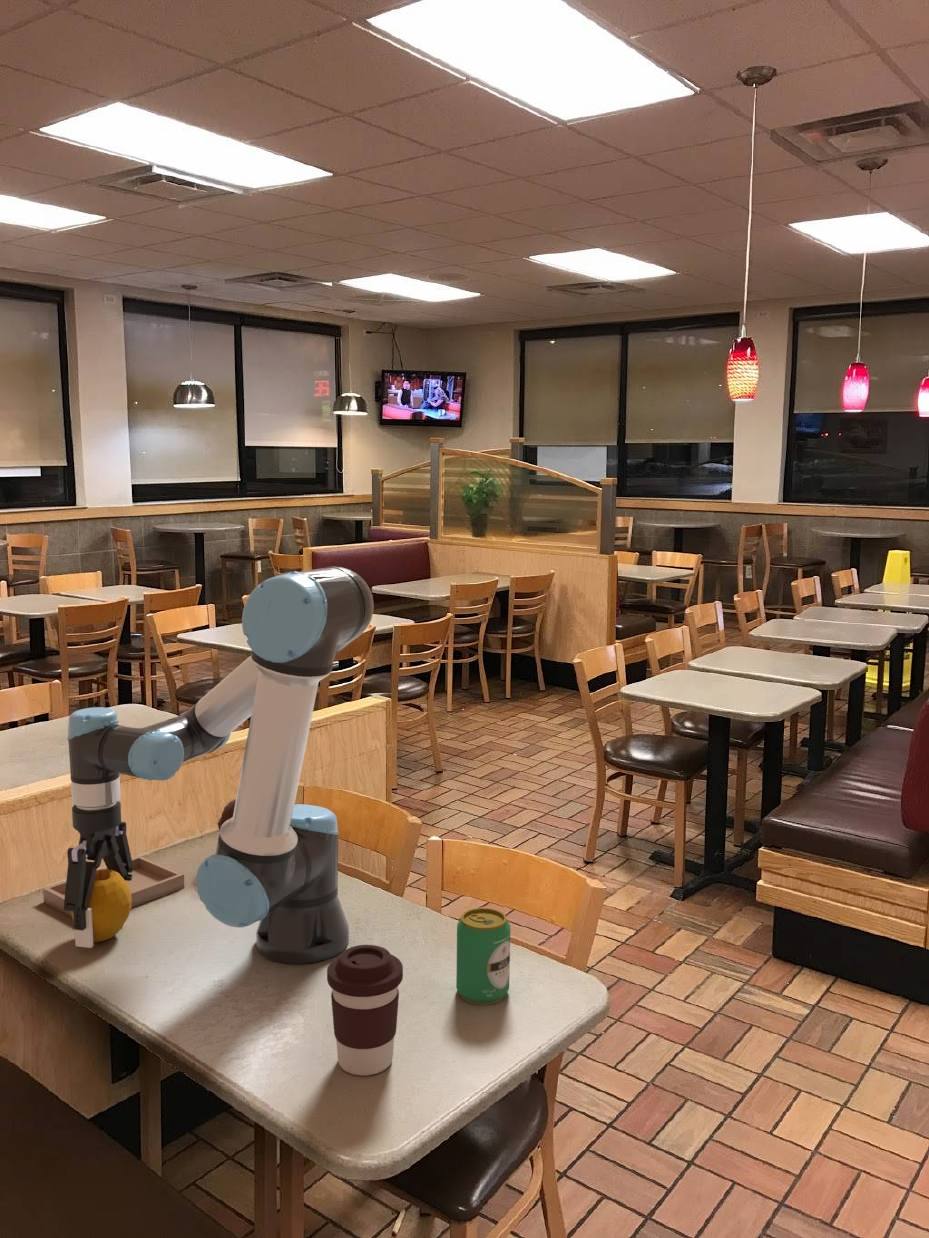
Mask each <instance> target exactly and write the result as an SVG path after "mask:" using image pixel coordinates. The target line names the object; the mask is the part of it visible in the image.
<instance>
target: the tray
mask: <svg viewBox="0 0 929 1238" xmlns="http://www.w3.org/2000/svg"><path fill="white" fill-rule="evenodd" d="M131 859H132V863H133V871H132V873H128V874H132V879H131V881H126V883H127V884H128V886H129V888H130V893H131V899H132V903H131V909H132V908H134V907H137V906H141V905H143V904H146V903H148V902H150V901H153V900H155V899H156V900H157V899H158V898H161V897H163V896H166V895H169V894H171V893H174V892H177V891H180V890H182V889H185V874H184V873H181V872H179V871H177V870H175V869H172V868H170V867H167V866H165V865H163V864H161V863H158V862H155V861H153V860H150V859H149V858H146V857H144V856H142V855H138V856H135V857H131ZM123 864H124V865H126V864H125V863H123ZM103 869H107V867H103V868H99V869H97V870H103ZM97 870H96V871H97ZM65 889H66V880H64V881H61V882H58V883H55V884H52V885H48V886H47V887H43V888H42V895H43V898H42V899H43V903H45V904H46V905H48V906H50V907H52V908H53V909H56V910H57V911H60V912H62V913H64V914H66V915H67V916H69V917H71V918H72V913H71V911H65V910H64V899H65Z"/></svg>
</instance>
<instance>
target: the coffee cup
mask: <svg viewBox="0 0 929 1238" xmlns="http://www.w3.org/2000/svg"><path fill="white" fill-rule="evenodd" d="M339 954H340V955H339V956H337V957H335V958H334V959H333V960H331V961H330V962H329V964H328V966H327V970H326V979H327V980H326V981H327V984H328V986H329V987H330V988H331V989H332V990H331V996H330V997H331V1008H332V1009H331V1010H332V1020H333V1021H332V1023H333V1035H334V1037H335V1041H336V1051H337V1052H336V1053H337V1062H338V1066H339V1067H340V1068H341V1069H342V1070H344V1071H345V1072H346V1073H348V1074H351V1075H355V1076H361V1077H363V1076H364V1077H365V1076H372V1075H376V1074H380V1073H382V1072H383V1071H384V1070H386V1069H388V1068H389V1067H390V1066H391V1063H392V1061H393V1057H394V1045H395V1044H394V1043H395V1036H396V1033H397V1028H398V1027H397V1025H398V1024H397V1023H398V1011H399V1001H400V1000H399V999H400V998H399V996H400V991H399V986H400V984H401V983H402V982H403V981H402V980H403V977H404V971H403V970H404V965H403V963H402V962H401V959H399V958H398V957H396V956H395V955H393V954H391V952H390V951H389V950H387V949H386V948H384V947H381V946H380V945H376V944H375V945H374V944H359V945H358V944H357V945H354V946H351V947H348V948H345V949H344V950H343V951H342V952H340V953H339Z"/></svg>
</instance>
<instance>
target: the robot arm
mask: <svg viewBox="0 0 929 1238" xmlns="http://www.w3.org/2000/svg"><path fill="white" fill-rule="evenodd" d="M374 606H375V605H374V598H373V594H372V591H371V589H370V587H369V586H368V584H367V582H366V581H365V580H364V578H362V576H360V575H359V574H358V573H357V572H354V571H352V569H349V568H345V567H341V566H335V565H334V566H325V567H321V568H316V569H315V568H314V569H307V570H303V571H301V570H300V571H288V572H284V573H280V574H278V575H276V576H273V577H270V578H268V579H264V580H263V581H262V582H261V583H259V584H258V585H257V586H256V587H255V588H254V589H253V590H252V591H251V593H250V594H249V595H248V597H247V598H246V600H245V603H244V607H243V609H242V617H241V625H242V626H241V627H242V633H243V635H244V636H246V638H247V640H246V643H247V645H248V646H249V648H250V649H251V654H250V656H248V657H247V658H246V659H245V660H244V661H242V662H241V663H240V664H239V665H238V666H237V667H236V668H235V669H233V670H232V671H231V672H229V674H227V676H225V677H224V678H223V679H221V681H220V682H218V683H217V684H216V685H215V686H214V687H213V688H212V689H211V690H209V691H208V692H207V693H206V694H205V695H204V696H203V697H201V698H200V699H199V700H198V702H196V703H195V704H194V705H192V706H191V707H190V708H189V709H188V710H187V711H186V712H184V713H183V714H180V715H177V716H174V717H172V718H169V719H167V720H163V721H160V722H157V723H154V724H151V725H148V726H145V727H132V726H125V725H121V724H120V725H119V719H118V713H117V712H116V711H115V710H114V709H112V708H109V707H101V706H99V707H96V706H95V707H86V708H82V709H77V710H75V711H74V712H72V713H71V714H70V715H69V717H68V726H67V727H68V731H67V732H68V733H67V741H68V756H69V771H70V787H71V788H70V789H71V803H72V805H73V806H72V807H71V815H72V816H71V817H72V827H73V828H74V830H75V831H77V833H78V834H79V840H78V845H76V847H69V848H67V853H66V854H67V863H68V864H67V872H66V880H65V881H66V889H65V899H64V910H65V911H73V915H74V921H73V929H74V942H75V944H74V945H75V947H79V948H88V949H92V948H93V947H94V942H93V928H92V908H88V905H89V901H90V896H91V892H92V888H93V883H94V879H95V874H96V870H98V868H99V869H100V867H101V865H102V860H103V862H104V864H105V866H106V867H107V869H109V870H113V871H115V872H118V873H119V874H120V875H121V876H122V877H123V879H124V880H125V881H131V879H132V874H128V873H132V871H133V863H132V856H131V855H132V854H131V851H130V845H129V840H128V837H127V823H126V821H122V806H121V805H122V804H121V801H120V800H121V798H122V797H121V796H122V795H121V794H122V793H121V781H120V779H121V777H120V775H125V776H130V777H135V778H139V779H142V780H147V781H167V780H170V779H171V778H173V777H174V776H175V774H176V773H177V772H178V771H179V770H180V769H181V767H182V765H183V763H185V762H189V761H190V760H193V759H197V758H198V757H201V756H204V755H208V754H209V755H210V754H211V753H214V752H215V751H217V750H218V749H220V748H222V747H223V746H224V745H226V744H227V743H228V741H229V740H230V735H231V733H232V732H234V731H235V730H236V729H238V727H239V726H241V725H242V724H243V723H244V722H246V720H248V719H250V721H249V727H248V733H247V738H246V743H245V747H244V748H245V749H244V753H243V760H242V764H241V771H240V776H239V780H238V786H237V793H236V796H235V797H236V798H235V799H236V803H235V808H234V814H233V817H232V818H230V819H229V820H227V821H225V822H224V823H223V824H222V826H221V828H220V831H219V833H218V837H217V843H216V849H215V853H214V854H212V855H209V856H208V857H206V858H205V859H204V861H202V863H201V864H200V865H199V868H198V870H197V872H196V876H195V877H196V878H195V879H196V880H195V882H196V883H195V886H196V889H197V893H198V896H199V899H200V901H201V903H203V905H204V907H205V908H206V911H208V913H209V914H210V915H211V916H212V917H213V918H214V919H216V920H217V921H218V922H220V923H222V924H224V925H226V926H228V927H231V928H246V927H248V926H251V925H253V924H255V923H256V922H259V924H258V926H257V929H256V949H257V951H258V953H259V954H260V955H262V957H265V958H267V959H268V960H271V961H274V962H278V963H282V964H289V965H290V964H291V965H298V964H299V965H304V964H311V963H312V964H314V963H317V962H322V961H325V960H329V959H331V958H333V957H335V956H337V955H339V954H341V953H342V952H343V951H345V950H346V949H347V947H348V944H349V941H350V939H349V938H350V937H349V936H350V931H349V929H350V928H349V924H348V920H347V918H346V915H345V913H344V909H343V906H342V904H341V901H340V898H339V871H338V869H339V853H338V851H339V835H340V834H339V829H338V821H337V820H338V818H337V816H336V814H335V813H334V811H332V810H331V809H328V808H326V807H323V806H318V805H312V804H302V803H301V804H299V803H297V804H295V803H296V797H297V794H298V788H299V783H300V779H301V774H302V768H303V763H304V758H305V755H306V754H305V753H306V748H307V742H308V738H309V733H310V728H311V727H310V726H311V723H312V718H313V712H314V707H315V702H316V699H317V694H318V693H317V692H318V687H319V682H320V681H322V680H323V679H325V678H327V677H328V676H330V675H331V673H332V672H333V667H334V662H335V656H336V655H337V654H339V652H340V651H342V650H343V649H344V648H345V647H347V646H348V645H349V644H351V642H353V641H355V640H356V639H357V638H359V637H360V636H361V635H362V634H364V632H365V631H366V630H367V629H368V627H369V625H370V624H371V622H372V619H373V614H374ZM123 863H125V864H126V865H124V864H123Z"/></svg>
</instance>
